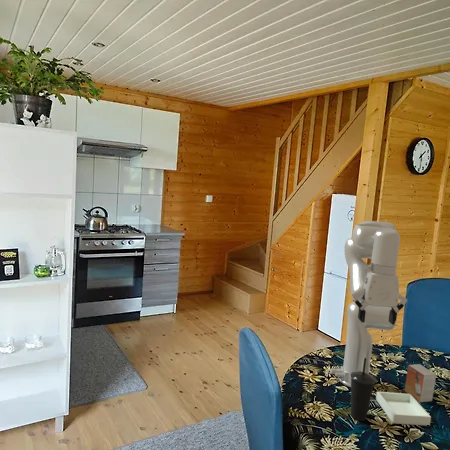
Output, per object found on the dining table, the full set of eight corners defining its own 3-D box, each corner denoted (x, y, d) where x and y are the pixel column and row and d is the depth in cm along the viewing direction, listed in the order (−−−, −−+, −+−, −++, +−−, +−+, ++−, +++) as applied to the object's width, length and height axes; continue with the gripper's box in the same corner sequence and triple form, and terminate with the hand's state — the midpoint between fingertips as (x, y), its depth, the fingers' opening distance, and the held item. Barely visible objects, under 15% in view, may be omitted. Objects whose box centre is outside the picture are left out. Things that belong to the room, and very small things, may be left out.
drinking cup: (351, 407, 136) (358, 351, 134) (373, 416, 131) (381, 358, 129) (342, 416, 130) (349, 357, 128) (365, 426, 125) (373, 366, 123)
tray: (393, 423, 128) (394, 414, 128) (376, 399, 142) (377, 391, 142) (429, 425, 128) (431, 416, 128) (409, 401, 142) (410, 393, 142)
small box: (404, 391, 150) (407, 364, 149) (416, 389, 151) (419, 363, 150) (420, 402, 142) (424, 374, 141) (432, 401, 144) (436, 373, 143)
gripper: (359, 270, 121) (353, 324, 123) (415, 274, 122) (408, 328, 123) (351, 265, 129) (346, 316, 131) (404, 269, 129) (398, 320, 131)
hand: (376, 322), depth 127 cm, fingers open, 9 cm apart
